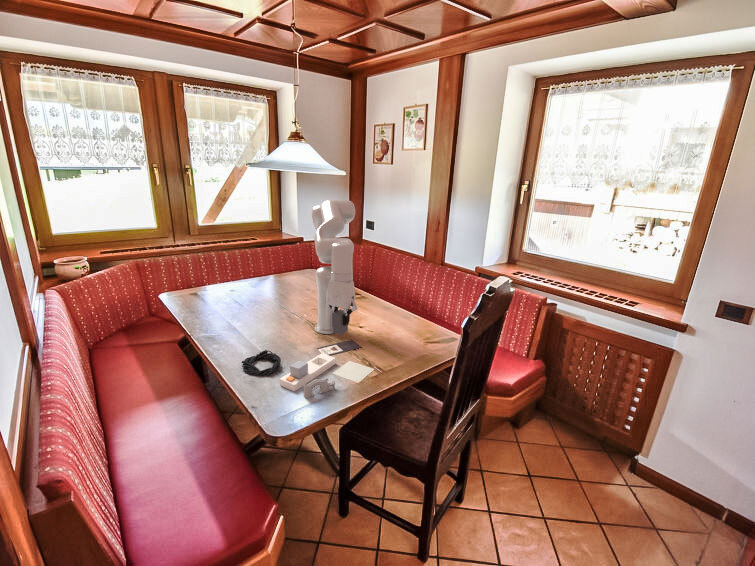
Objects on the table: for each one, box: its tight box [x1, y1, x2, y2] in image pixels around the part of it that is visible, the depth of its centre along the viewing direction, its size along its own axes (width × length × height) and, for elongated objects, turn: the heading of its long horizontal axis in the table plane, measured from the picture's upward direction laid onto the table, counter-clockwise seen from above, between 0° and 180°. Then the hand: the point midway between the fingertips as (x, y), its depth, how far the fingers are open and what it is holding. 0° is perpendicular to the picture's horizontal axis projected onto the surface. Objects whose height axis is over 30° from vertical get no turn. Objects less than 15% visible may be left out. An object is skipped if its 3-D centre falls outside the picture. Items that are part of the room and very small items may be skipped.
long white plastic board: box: [279, 352, 337, 392], centre depth 142 cm, size 24×7×4 cm, turn 149°
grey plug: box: [289, 360, 308, 379], centre depth 137 cm, size 5×4×6 cm
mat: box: [331, 360, 375, 384], centre depth 146 cm, size 12×12×1 cm
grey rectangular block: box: [332, 308, 350, 336], centre depth 140 cm, size 5×4×8 cm
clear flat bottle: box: [302, 377, 336, 399], centre depth 130 cm, size 12×2×6 cm, turn 125°
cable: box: [241, 349, 282, 377], centre depth 146 cm, size 17×14×4 cm
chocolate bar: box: [316, 339, 363, 357], centre depth 164 cm, size 9×1×18 cm
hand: (341, 322), depth 140 cm, fingers closed on grey rectangular block, 4 cm apart
